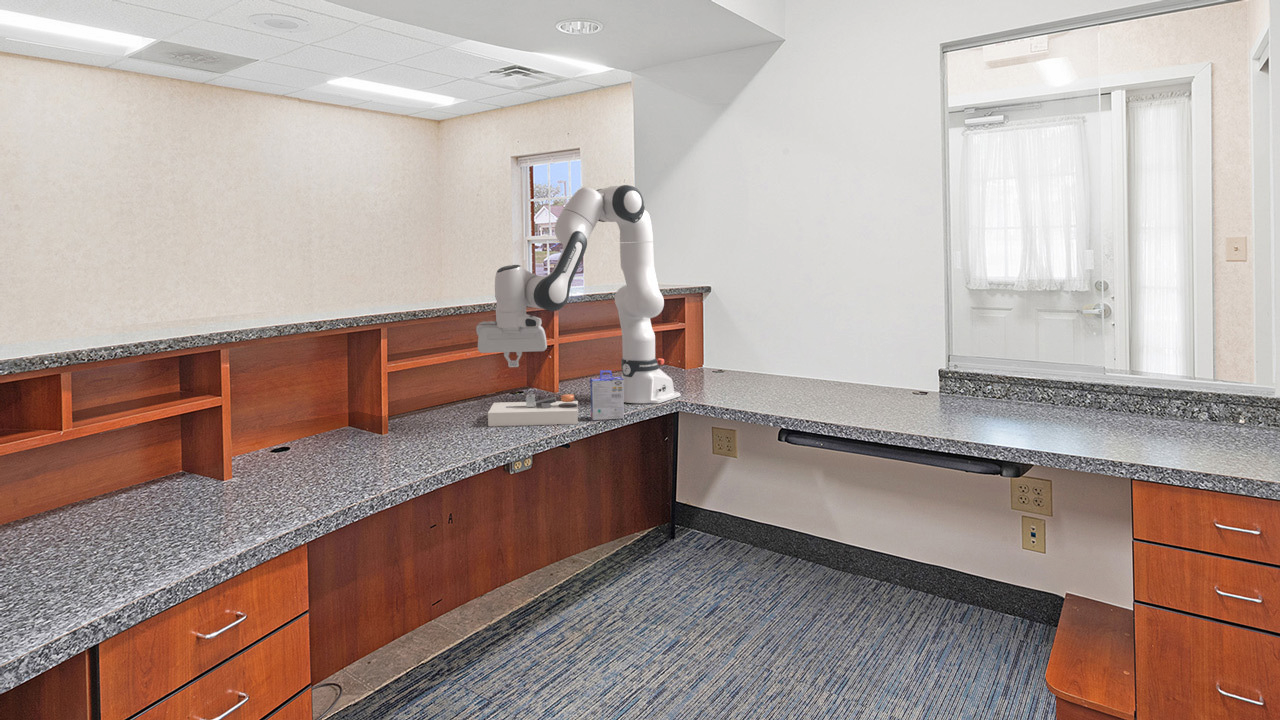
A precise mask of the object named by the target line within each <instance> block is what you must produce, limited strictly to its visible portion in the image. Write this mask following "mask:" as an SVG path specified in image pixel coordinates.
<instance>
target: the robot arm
mask: <svg viewBox="0 0 1280 720" xmlns="http://www.w3.org/2000/svg"><path fill="white" fill-rule="evenodd" d="M598 222H601V223H606V222H608V223H616V224H617V225H618V230H619V254H620V255H619V256H620V258H619V259H620V268H621V270H622V272H623V276H624V280H625V285H623V286H621V287H620V288H618V290H617V291H616V293H615V295H614V303H615V306H616V308H617V313H618V319H619V323H620V329H621V337H622V338H621V339H622V340H621V341H622V358H620V359H621V362H620V364H621V365H620V368H621V372H622V373H621V378H622V379H623V398H624V403H628V404H629V403H630V404H661V403H663V402H664V403H665V402H667V401H670V400H673V399H676V398H679V397H681V393H680V392H678V391H676V390H675V387H674V381H673V379H672V378H671V377H670V376H669V375H668V374H667V373H665V372H664V371H663V370H662V369H660V366H659V365H662V366H663V365H664V364H665V359H664V358H656V335H655V334H656V333H655V331H654V329H653V327H652V321H651V319H653V318H656V317H657V316H659V315H661V313H662V311H663V310H664V306H665V300H664V299H665V298H664V296H663V294H662V292H661V291H660V286H659V283H658V277H657V272H656V269H655V256H654V255H655V254H654V253H655V251H654V233H653V225H652V224H653V223H652V220H651V216H650V213H649V212H648V211H647V210H646V209H645V202H644V198H643V195H642V193H641V192H640V190H639V189H638V188H637V187H635V186H633V185H630V184H629V185H628V184H623V185H611V186H607V187H605V188H598V189H594V188H592V187H588V186H587V187H586V186H584V187H581V188H579V189H577V190H576V192H575V193H574V194H573V195H572V197H571V198H570V199H569V200H568V201H567V203H566V204H565V206H564V207H563V209H562V210H561V212H560V214H559V215H558V218H557V220H556V222H555V225H554V228H553V230H554V234H555V237H556V238H557V240H558V242H559V243H560V244H561V245H562V249H561V253H560V256H559V257H558V259H557V262H556V264H555V266H554V268H553V270H552V271H551V272H550V273H549V274H547V275H537V274H535V273H534V272H531V271H529V270H527V269H526V268H524V267H523V266H522V265H519V264H511V265H510V264H509V265H506V266H502V267H500V268H498V269H497V271H495V278H494V297H495V300H496V301H495V302H496V308H495V320H490V321H480V322H479V323H478V324H477V325H476V327H475V328H476V329H475V331H476V333H475V334H476V335H477V336H478V338H477V350H478V352H480V353H481V354H488V353H489V354H492V353H494V354H496V353H503V357H504V358H505V360H506V361H507V364H508V368H518V367H519V366H520V363H519V361H520V359H521V357H522V356H523V352H524V353H525V352H526V353H527V352H530V353H531V352H545V350H547V348H548V342H547V341H548V340H547V336H546V335H547V334H546V331H545V329H544V327H543V326H542V323H543V322H542V321H543V320H542V318H540V317H537V316H535V315H532V314H528V313H527V307H531V308H536V309H542V310H545V311H548V312H556V311H559V310H561V309H563V307H565V305H566V304H567V302H568V301H569V296H570V291H571V286H572V283H573V280H574V278H575V276H576V273H577V271H578V268H579V267H580V265H581V262H582V259H583V257H584V255H585V253H586V250H587V246H588V241H589V239H590V236H591V235H592V233H593V231H594V229H595V228H596V225H597V223H598ZM510 353H516V356H517V358H516V360H511V358H510Z"/></svg>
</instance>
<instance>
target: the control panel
mask: <svg viewBox="0 0 1280 720" xmlns="http://www.w3.org/2000/svg"><path fill="white" fill-rule="evenodd" d="M487 420H488V421H487V424H488V425H487V427H508V426H509V427H512V426H513V427H517V426H518V427H519V426H552V425H553V426H554V425H555V426H558V425H557V424H561V425H578V424H579V401H578V400H574V401H573V402H562V401H561V400H559V401H558V400H556V402H554V403H542V405H541V406H537V407H536V401H535V407H526V401H512V402H511V401H509V402H508V401H505V402H501V401H499V402H493V403H492V405H491V407H490V409H489V410H488V412H487Z"/></svg>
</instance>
